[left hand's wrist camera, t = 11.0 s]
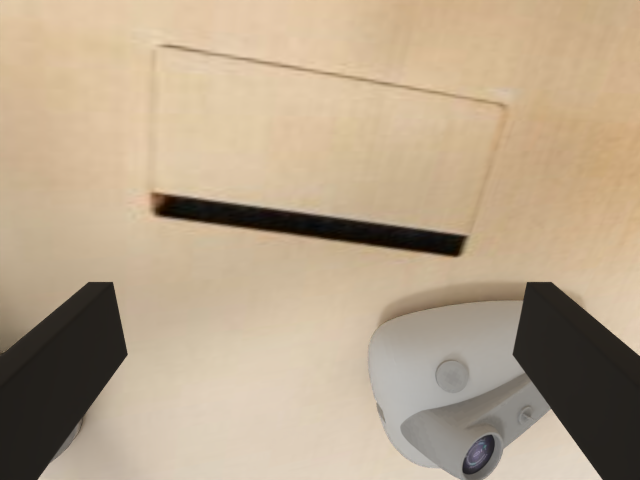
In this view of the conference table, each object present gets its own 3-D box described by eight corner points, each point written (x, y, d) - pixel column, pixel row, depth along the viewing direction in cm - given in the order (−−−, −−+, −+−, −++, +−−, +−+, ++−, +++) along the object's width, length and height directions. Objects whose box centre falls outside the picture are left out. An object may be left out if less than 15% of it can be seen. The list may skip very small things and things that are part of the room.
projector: (482, 451, 51) (541, 583, 38) (324, 385, 48) (326, 504, 34) (599, 319, 45) (723, 421, 31) (425, 229, 41) (479, 300, 27)
